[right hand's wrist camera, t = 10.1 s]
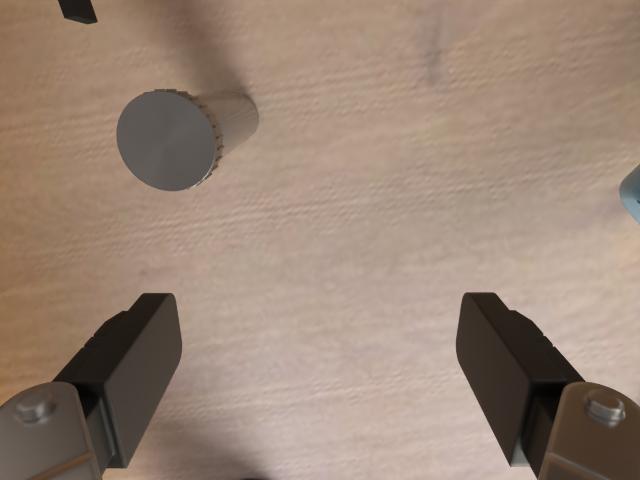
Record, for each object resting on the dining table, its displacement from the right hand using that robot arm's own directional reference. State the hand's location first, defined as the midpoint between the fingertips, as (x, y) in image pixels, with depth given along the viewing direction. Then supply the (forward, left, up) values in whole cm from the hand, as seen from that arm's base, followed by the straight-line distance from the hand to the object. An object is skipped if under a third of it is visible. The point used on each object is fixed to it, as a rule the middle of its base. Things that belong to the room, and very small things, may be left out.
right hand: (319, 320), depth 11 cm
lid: (-3, +7, -10) cm, 13 cm away
